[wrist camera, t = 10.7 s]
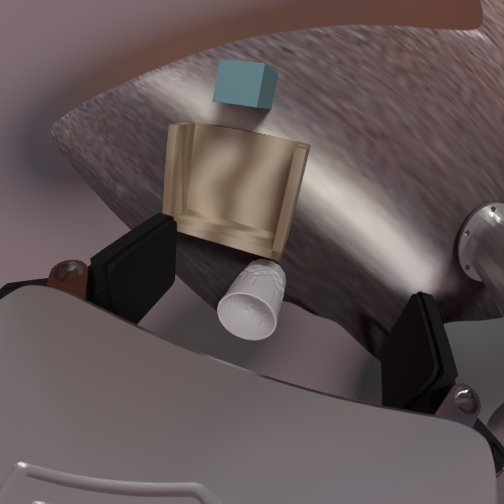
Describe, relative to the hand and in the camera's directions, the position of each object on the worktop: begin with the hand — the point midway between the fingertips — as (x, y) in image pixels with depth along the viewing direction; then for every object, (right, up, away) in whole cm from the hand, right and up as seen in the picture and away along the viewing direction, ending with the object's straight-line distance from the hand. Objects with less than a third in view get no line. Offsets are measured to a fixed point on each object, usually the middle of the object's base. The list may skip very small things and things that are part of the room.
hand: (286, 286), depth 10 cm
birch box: (-3, +11, +28) cm, 30 cm away
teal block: (-1, +22, +22) cm, 31 cm away
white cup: (+1, -3, +34) cm, 34 cm away
